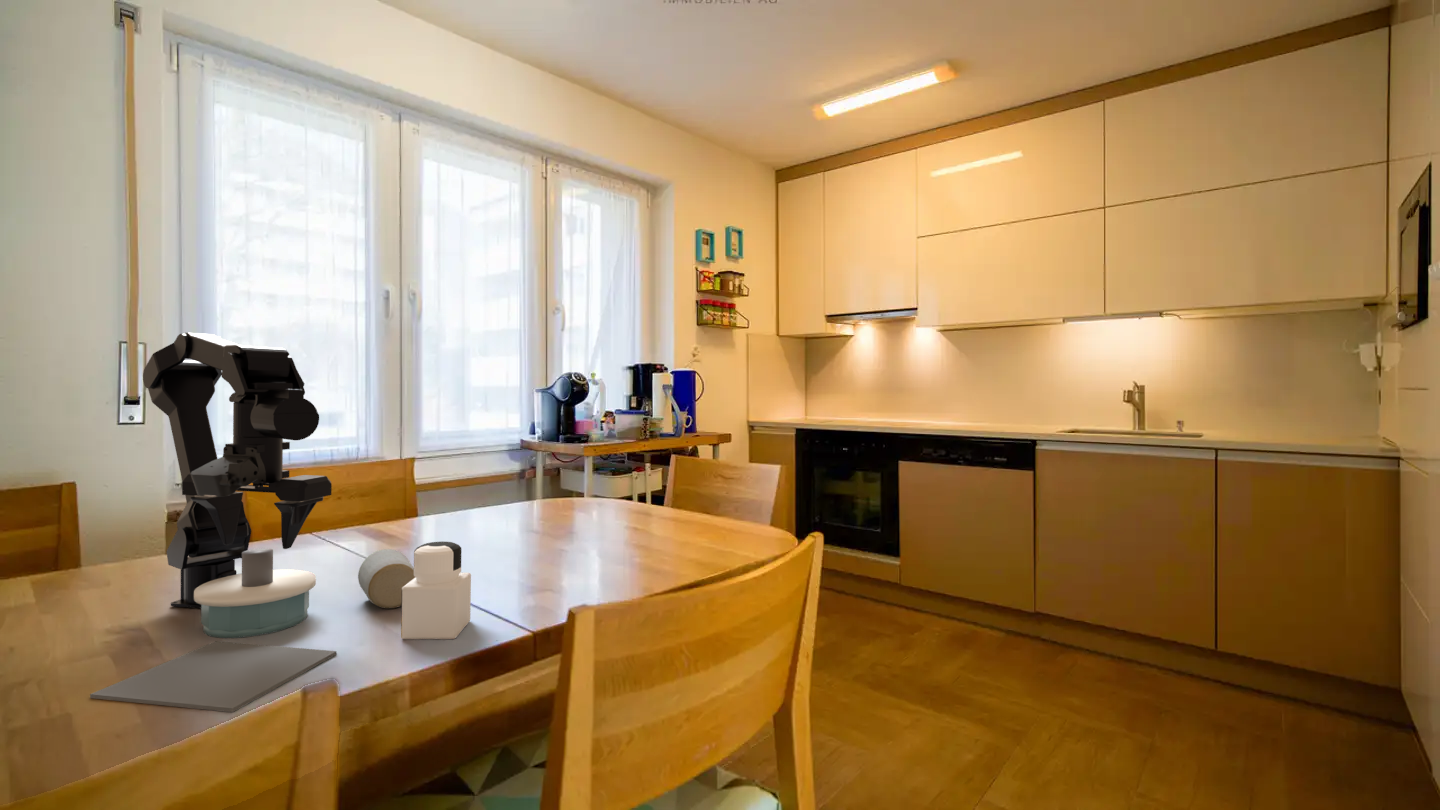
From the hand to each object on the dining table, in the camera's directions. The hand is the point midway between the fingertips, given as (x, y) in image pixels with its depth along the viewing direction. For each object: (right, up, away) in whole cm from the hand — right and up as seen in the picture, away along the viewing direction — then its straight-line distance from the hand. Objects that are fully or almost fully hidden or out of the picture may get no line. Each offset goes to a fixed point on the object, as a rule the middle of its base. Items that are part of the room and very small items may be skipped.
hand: (257, 546), depth 93 cm
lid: (0, -6, 0) cm, 6 cm away
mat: (+8, -11, -17) cm, 21 cm away
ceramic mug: (+15, -11, +11) cm, 21 cm away
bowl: (0, -11, 0) cm, 11 cm away
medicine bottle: (+26, -12, -1) cm, 28 cm away
